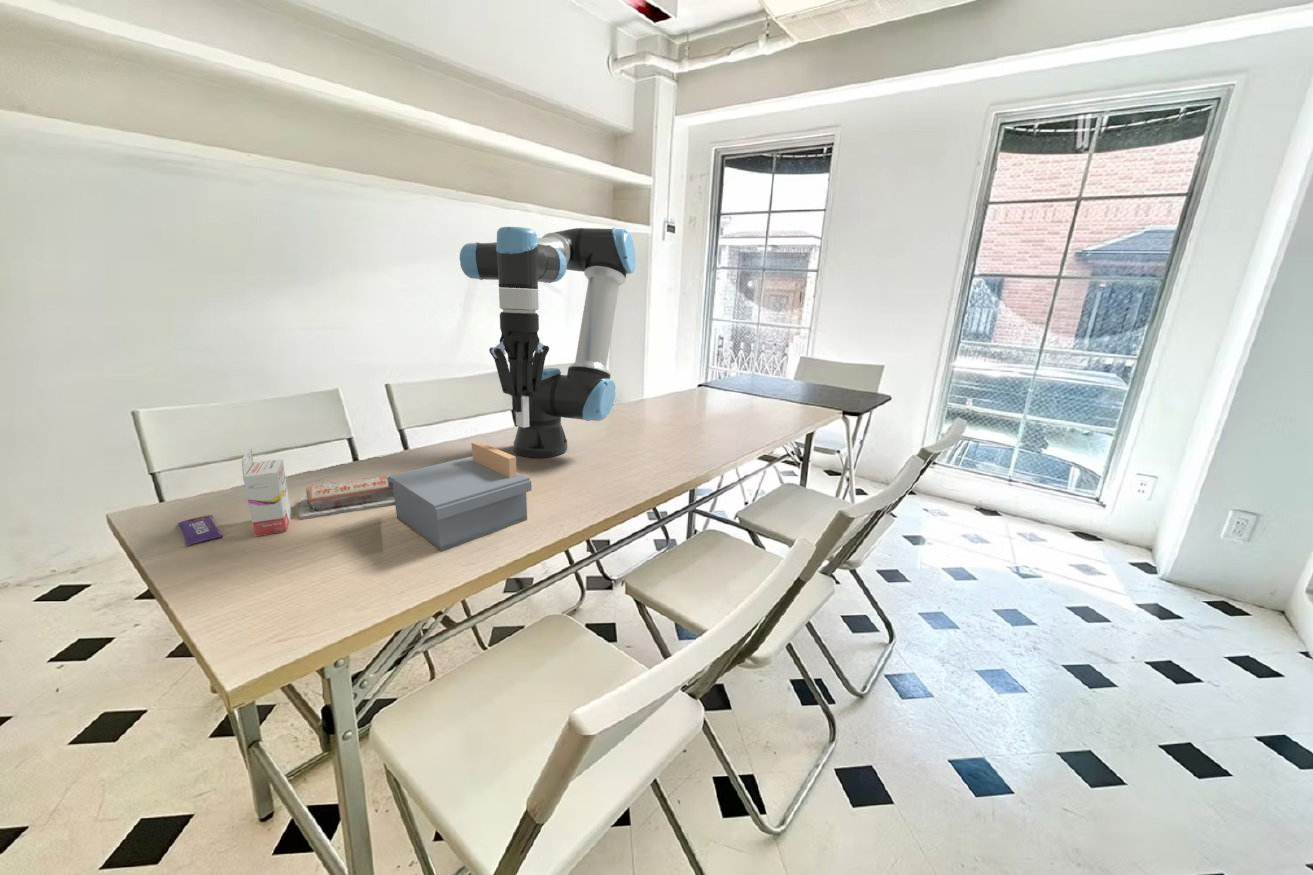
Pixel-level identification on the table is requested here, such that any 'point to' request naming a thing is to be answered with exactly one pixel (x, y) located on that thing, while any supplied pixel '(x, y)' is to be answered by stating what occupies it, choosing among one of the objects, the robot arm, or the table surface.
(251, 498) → the ink cartridge box
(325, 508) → the packaged product
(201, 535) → the snack package
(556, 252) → the robot arm
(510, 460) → the lid
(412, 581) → the table surface
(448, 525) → the open gray box
